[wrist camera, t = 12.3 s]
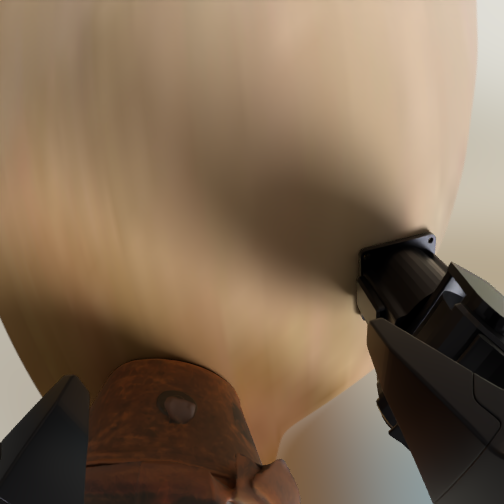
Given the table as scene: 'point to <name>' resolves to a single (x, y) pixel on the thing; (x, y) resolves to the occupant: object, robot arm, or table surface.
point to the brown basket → (176, 441)
